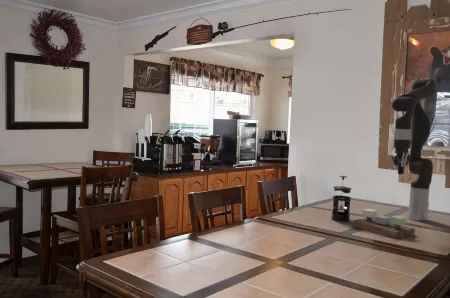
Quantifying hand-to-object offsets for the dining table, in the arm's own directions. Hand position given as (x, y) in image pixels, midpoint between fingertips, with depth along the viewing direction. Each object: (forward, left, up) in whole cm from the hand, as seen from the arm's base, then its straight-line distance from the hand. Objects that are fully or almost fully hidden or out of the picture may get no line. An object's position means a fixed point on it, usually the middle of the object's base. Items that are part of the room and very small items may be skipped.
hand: (400, 174), depth 204 cm
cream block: (+11, -8, -24) cm, 28 cm away
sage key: (+11, +8, -24) cm, 28 cm away
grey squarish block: (+11, 0, -26) cm, 28 cm away
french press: (+13, -24, -27) cm, 38 cm away
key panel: (+11, 0, -27) cm, 29 cm away
